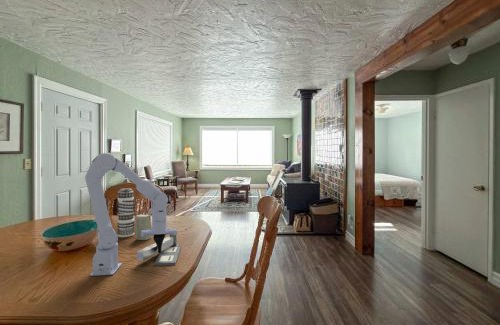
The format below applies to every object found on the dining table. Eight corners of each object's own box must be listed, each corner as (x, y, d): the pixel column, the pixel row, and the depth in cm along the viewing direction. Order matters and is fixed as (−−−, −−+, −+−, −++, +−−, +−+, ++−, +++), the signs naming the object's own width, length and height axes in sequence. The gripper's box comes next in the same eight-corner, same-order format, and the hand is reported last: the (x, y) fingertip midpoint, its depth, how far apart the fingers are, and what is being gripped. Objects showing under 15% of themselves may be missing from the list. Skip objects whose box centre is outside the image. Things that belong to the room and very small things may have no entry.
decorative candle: (138, 232, 148) (138, 187, 147) (129, 237, 138) (129, 190, 138) (123, 231, 149) (122, 187, 148) (113, 237, 139) (112, 189, 138)
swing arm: (143, 261, 104) (143, 252, 104) (136, 260, 105) (136, 251, 105) (173, 244, 123) (173, 237, 123) (167, 244, 124) (167, 236, 124)
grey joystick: (177, 248, 123) (177, 235, 123) (166, 248, 123) (166, 236, 122) (179, 244, 128) (179, 232, 128) (168, 245, 128) (168, 232, 127)
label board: (175, 264, 105) (175, 261, 105) (154, 265, 104) (154, 262, 104) (180, 248, 123) (180, 245, 123) (163, 249, 122) (163, 246, 122)
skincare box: (151, 238, 138) (151, 214, 138) (146, 240, 134) (145, 216, 134) (141, 236, 140) (140, 213, 140) (135, 239, 136) (135, 215, 135)
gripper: (178, 217, 116) (178, 247, 116) (143, 218, 114) (144, 249, 115) (176, 221, 109) (176, 253, 109) (139, 222, 107) (139, 255, 108)
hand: (159, 251), depth 112 cm, fingers closed
